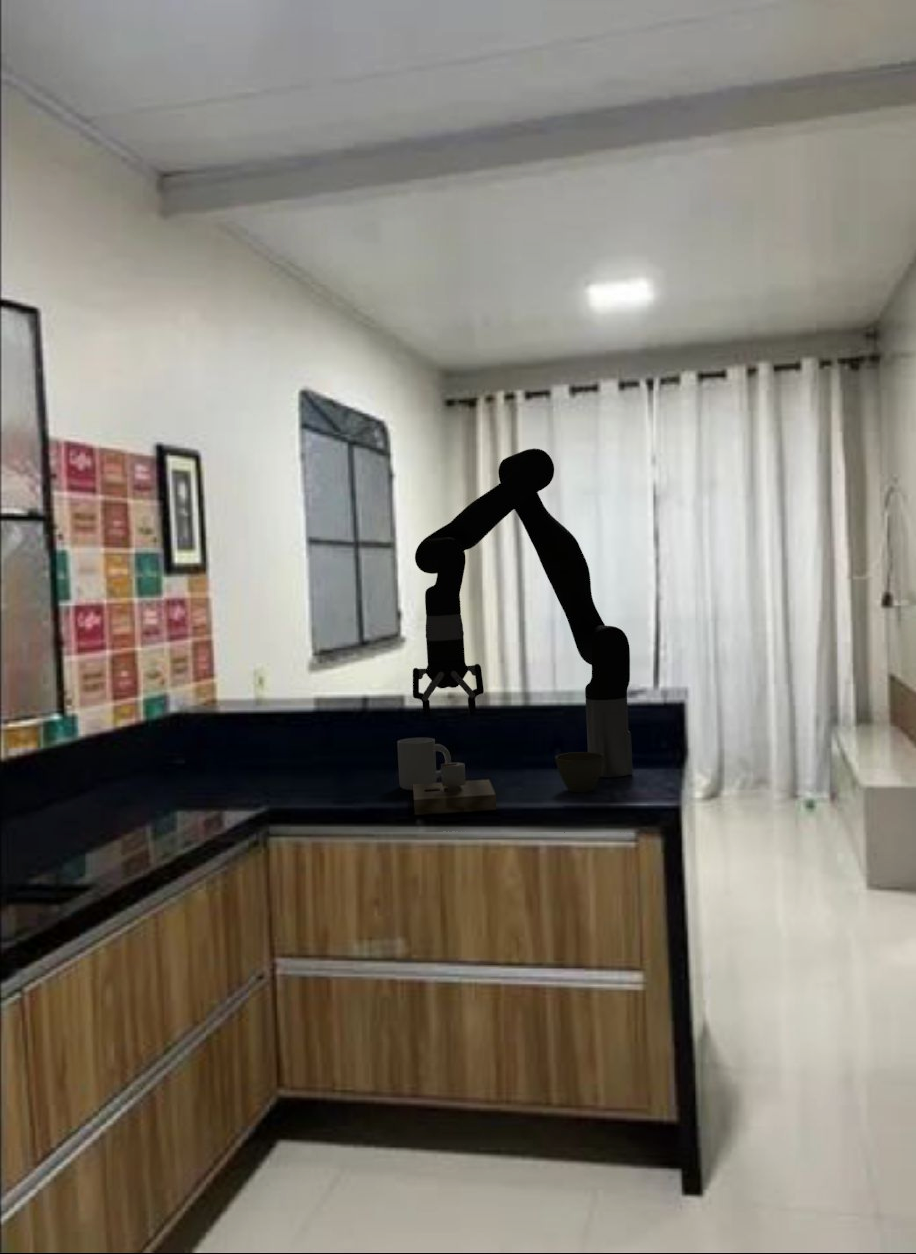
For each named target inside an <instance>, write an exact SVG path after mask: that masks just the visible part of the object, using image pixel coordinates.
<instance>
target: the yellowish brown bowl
mask: <svg viewBox="0 0 916 1254" xmlns="http://www.w3.org/2000/svg"><path fill="white" fill-rule="evenodd" d="M603 757H604V756H603V755H602V754H598V753H591V752H588V751H587V752H585V751H579V752H578V751H577V752H576V751H575V752H574V751H573V752H565V753H561V754H558V755H556V756H555V762H556V767H557V770H558V773H559V775H560V777H561V780H562V782H563V783H564V786H565V788H567V790H568V791H569V792H572V793H573V792H574V793H589V792H591V791H593V790H594V789H595V786H596V785H597V783H598V780H599V778H600V777H599V776H600V773H601V770H602V765H603Z"/></svg>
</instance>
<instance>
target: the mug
mask: <svg viewBox="0 0 916 1254" xmlns="http://www.w3.org/2000/svg"><path fill="white" fill-rule="evenodd" d="M396 743H397V744H396V745H397V764H398V765H397V767H398V779H399V780H398V781H399V787H400V788H401V789H402V790H405V791H406V790H408V791H413V784H424V783H438V782H437V779H438V778H440V777H441V778H442V776H441V769H439V770H437V761H436V760H437V758H436V756H437V755H436V752H441V753H442V754H443V756H444V764H446V763H452V757H451V754H450V752H449V750H448V749H447V748H446V747H445V746H444V745H442V744H440V743H436V739H435V738H432V737H409V738H408V737H407V738H404V739H403V738H402V739H399V740H398V741H396Z"/></svg>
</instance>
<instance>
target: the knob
mask: <svg viewBox="0 0 916 1254" xmlns="http://www.w3.org/2000/svg"><path fill="white" fill-rule="evenodd" d="M465 767H466V766H465V762H464V763H463V762H451V763H446V764H445V763H440V770H441V782H442V786H446V787H448V791H460V786H462V785H465V784H466V781H467V780H466V768H465Z"/></svg>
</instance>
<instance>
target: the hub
mask: <svg viewBox="0 0 916 1254" xmlns="http://www.w3.org/2000/svg"><path fill="white" fill-rule="evenodd" d="M465 781H466V784H465V785H462V786H460V791H448V787H446V786H442V781H441V782H437V783H424V784H413V790H412V792H413V808H414V815H415V816H419V815H423V816H424V815H433V814H434V815H436V814H437V815H438V814H450V813H467V812H481V811H482V812H483V811H484V812H486V811H497V795H496V794H497V793H496V792H495V790H494V788H493V785H492V783H491V781H490V779H478V780H477V779H476V780H473V779H472V780H465Z"/></svg>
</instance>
